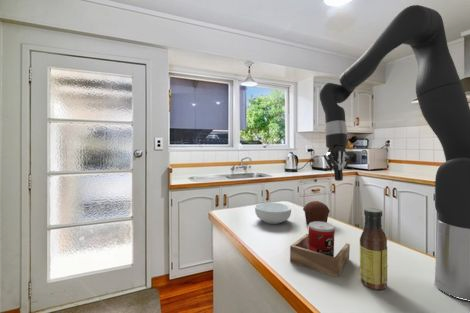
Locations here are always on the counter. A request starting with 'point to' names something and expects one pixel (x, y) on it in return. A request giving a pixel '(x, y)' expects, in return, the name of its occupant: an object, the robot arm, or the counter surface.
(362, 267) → the sauce bottle
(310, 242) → the canned food
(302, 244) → the wooden u-shaped frame
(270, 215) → the cereal bowl
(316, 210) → the muffin
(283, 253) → the counter surface
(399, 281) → the counter surface
